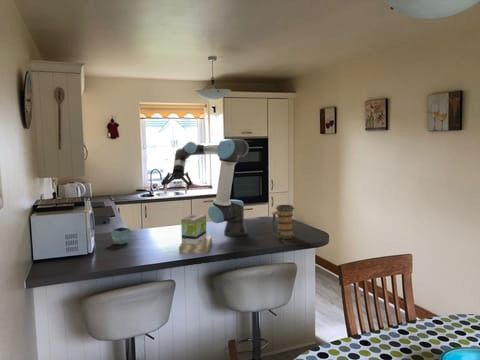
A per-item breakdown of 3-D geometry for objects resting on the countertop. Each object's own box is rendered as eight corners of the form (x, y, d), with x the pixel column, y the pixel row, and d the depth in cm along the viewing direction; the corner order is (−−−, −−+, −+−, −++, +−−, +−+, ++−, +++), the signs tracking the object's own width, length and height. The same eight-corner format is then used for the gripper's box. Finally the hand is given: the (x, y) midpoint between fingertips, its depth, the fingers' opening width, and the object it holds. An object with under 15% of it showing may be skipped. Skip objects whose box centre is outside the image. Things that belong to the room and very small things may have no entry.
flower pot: (131, 242, 235) (130, 228, 234) (120, 246, 228) (119, 231, 227) (122, 240, 240) (121, 227, 239) (111, 244, 232) (110, 230, 231)
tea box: (197, 245, 211) (196, 219, 210) (181, 244, 214) (180, 219, 212) (207, 238, 226) (206, 214, 224) (191, 237, 228) (191, 213, 227)
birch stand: (211, 242, 232) (211, 235, 231) (207, 253, 210) (207, 246, 209) (186, 242, 232) (185, 236, 232) (179, 253, 210) (179, 246, 210)
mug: (299, 237, 239) (299, 206, 237) (278, 241, 230) (278, 209, 228) (286, 232, 250) (286, 203, 248) (266, 237, 241) (265, 206, 238)
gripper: (197, 171, 256) (195, 196, 243) (162, 171, 257) (157, 196, 244) (196, 164, 251) (193, 189, 237) (159, 164, 251) (155, 189, 238)
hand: (175, 193), depth 241 cm, fingers open, 13 cm apart
